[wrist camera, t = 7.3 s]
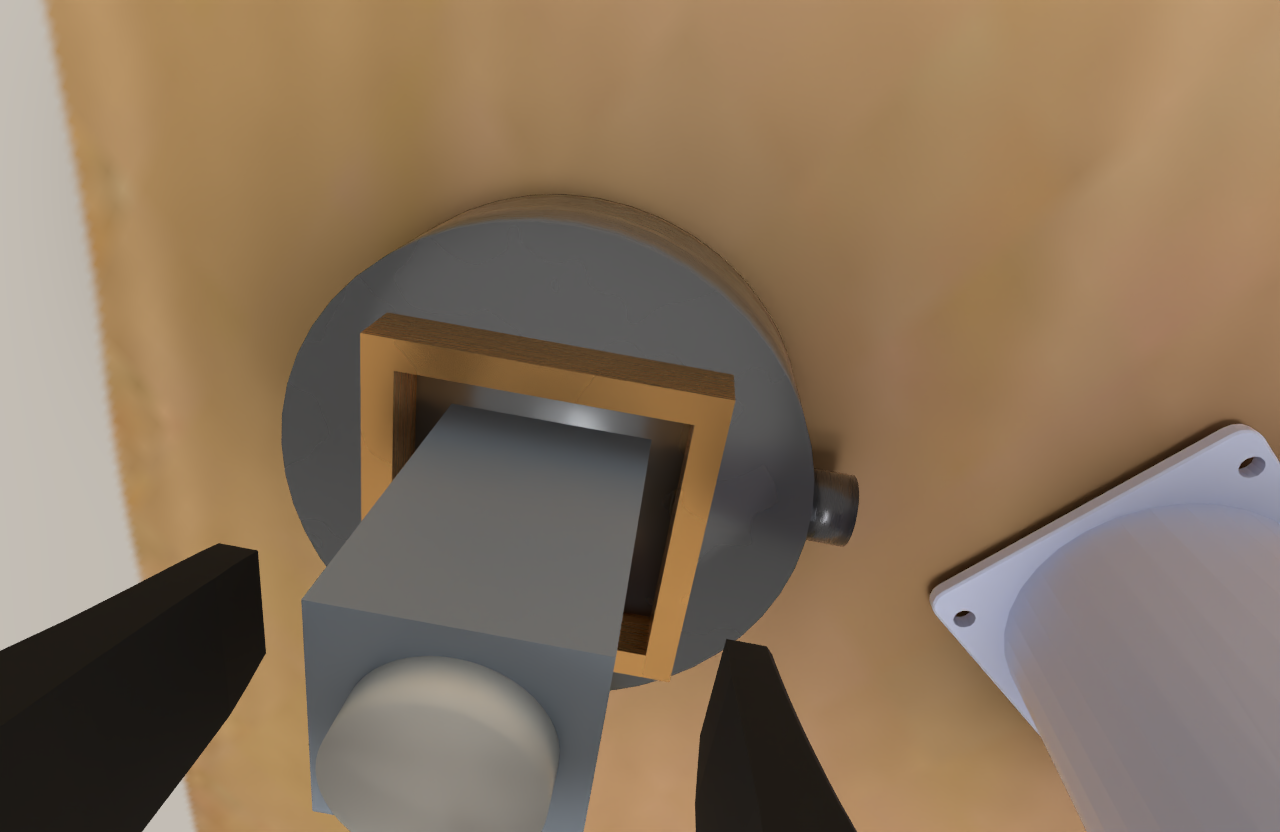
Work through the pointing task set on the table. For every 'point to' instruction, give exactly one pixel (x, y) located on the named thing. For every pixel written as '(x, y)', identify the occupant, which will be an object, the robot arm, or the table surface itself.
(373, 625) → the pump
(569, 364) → the grey disc square socket
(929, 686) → the table surface
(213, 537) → the table surface
